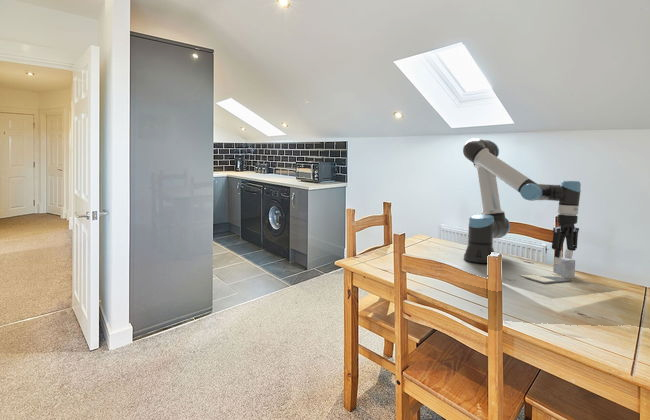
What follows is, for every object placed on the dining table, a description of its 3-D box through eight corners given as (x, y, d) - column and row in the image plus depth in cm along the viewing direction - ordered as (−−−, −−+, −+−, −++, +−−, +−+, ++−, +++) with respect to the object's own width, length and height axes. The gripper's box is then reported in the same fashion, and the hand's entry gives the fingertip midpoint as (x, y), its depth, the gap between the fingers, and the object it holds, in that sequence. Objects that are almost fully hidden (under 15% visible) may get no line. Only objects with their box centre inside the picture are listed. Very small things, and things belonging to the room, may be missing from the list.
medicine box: (574, 279, 154) (576, 260, 153) (565, 279, 153) (566, 260, 153) (561, 274, 161) (562, 256, 161) (552, 274, 161) (553, 256, 161)
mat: (516, 275, 158) (516, 274, 158) (542, 273, 163) (542, 272, 163) (544, 284, 144) (544, 282, 144) (571, 281, 149) (571, 279, 149)
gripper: (560, 215, 149) (555, 267, 151) (590, 215, 155) (585, 265, 157) (545, 213, 156) (540, 262, 159) (574, 213, 162) (569, 261, 164)
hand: (562, 263), depth 158 cm, fingers open, 6 cm apart
